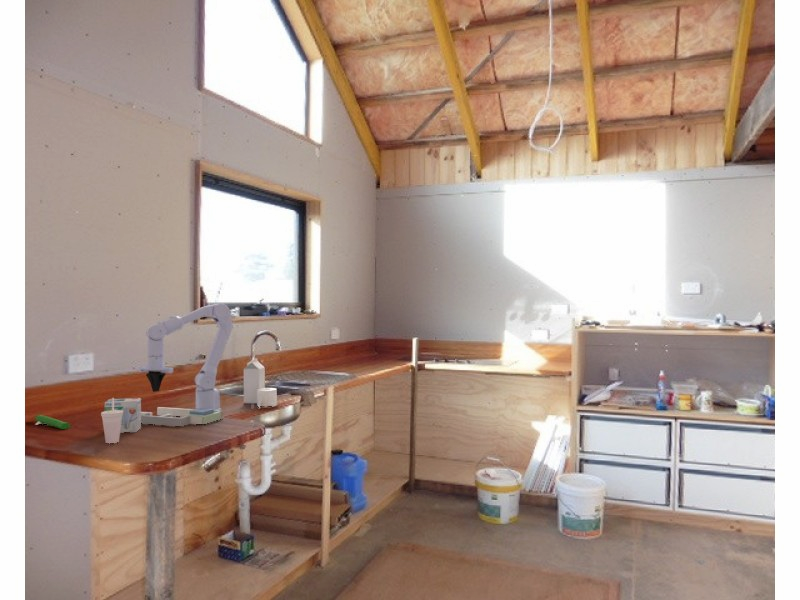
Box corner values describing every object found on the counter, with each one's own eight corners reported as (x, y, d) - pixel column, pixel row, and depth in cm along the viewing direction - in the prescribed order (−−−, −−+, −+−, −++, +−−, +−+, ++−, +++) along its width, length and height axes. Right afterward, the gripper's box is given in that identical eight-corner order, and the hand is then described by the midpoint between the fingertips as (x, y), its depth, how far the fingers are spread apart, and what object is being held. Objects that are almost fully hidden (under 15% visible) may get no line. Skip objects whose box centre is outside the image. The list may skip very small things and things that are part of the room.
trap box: (159, 414, 228) (159, 406, 228) (222, 419, 219) (222, 410, 219) (128, 422, 213) (128, 413, 213) (195, 428, 204) (195, 418, 204)
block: (201, 420, 219) (201, 408, 219) (213, 421, 216) (213, 409, 216) (189, 423, 213) (189, 410, 213) (202, 424, 211) (202, 412, 211)
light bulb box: (103, 434, 195) (103, 402, 195) (108, 430, 202) (108, 398, 202) (138, 432, 198) (138, 400, 198) (141, 428, 205) (141, 397, 205)
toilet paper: (259, 409, 239) (259, 392, 239) (256, 404, 250) (256, 388, 250) (279, 407, 242) (279, 391, 242) (275, 403, 253) (275, 387, 253)
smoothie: (127, 439, 187) (126, 396, 187) (118, 444, 181) (117, 399, 181) (106, 440, 187) (106, 396, 187) (97, 445, 181) (96, 400, 181)
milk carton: (265, 401, 258) (264, 358, 258) (259, 403, 251) (259, 359, 251) (249, 400, 259) (249, 358, 259) (243, 403, 252) (243, 359, 252)
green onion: (71, 431, 205) (29, 417, 221) (71, 421, 205) (29, 408, 221) (56, 433, 201) (15, 419, 217) (57, 424, 200) (15, 411, 217)
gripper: (132, 356, 222) (132, 391, 222) (164, 357, 218) (164, 393, 218) (146, 354, 229) (146, 389, 229) (176, 355, 224) (177, 390, 224)
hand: (155, 391), depth 224 cm, fingers closed
